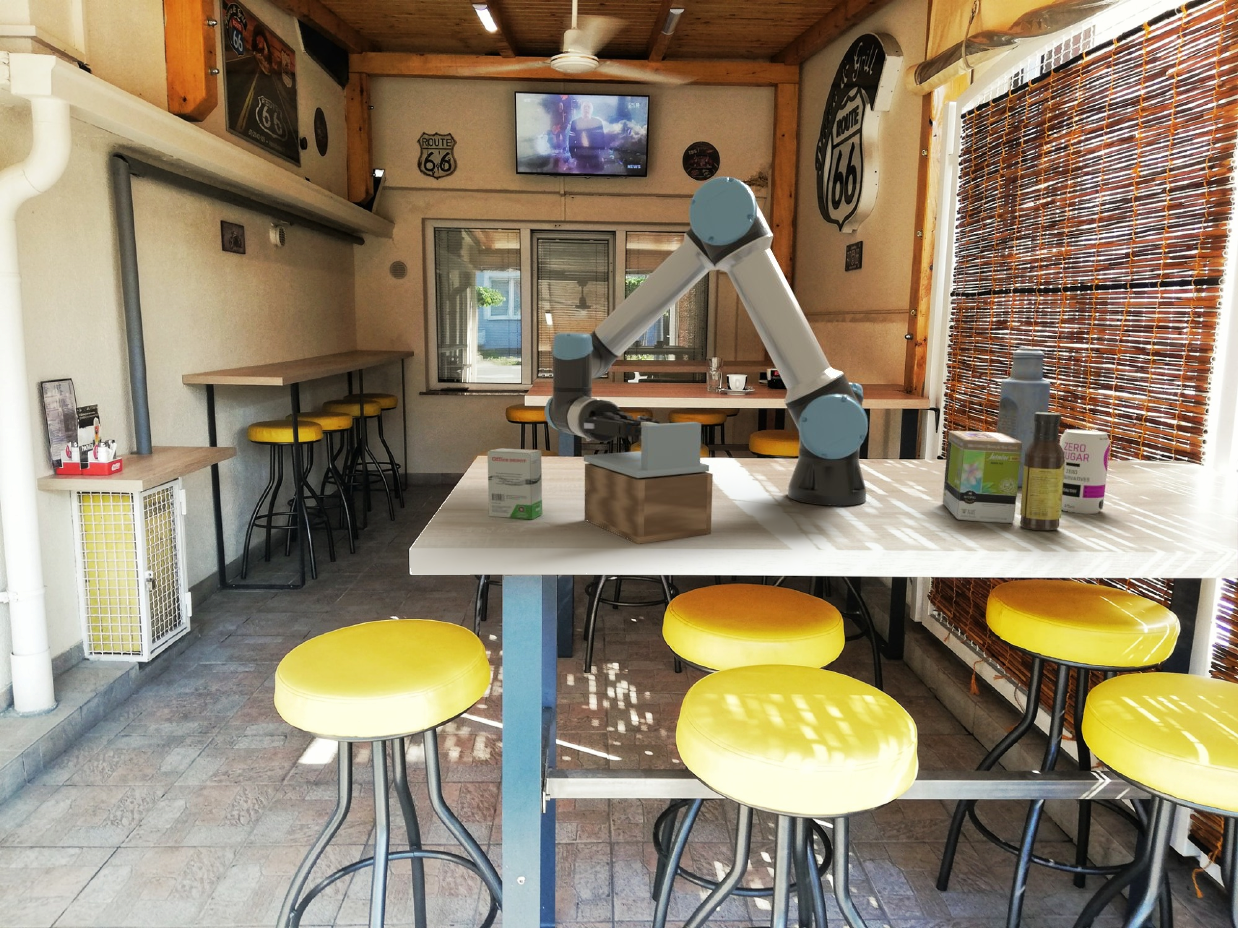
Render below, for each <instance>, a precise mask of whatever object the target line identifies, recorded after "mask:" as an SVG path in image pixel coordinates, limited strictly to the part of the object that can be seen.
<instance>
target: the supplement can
mask: <svg viewBox="0 0 1238 928" xmlns="http://www.w3.org/2000/svg"><path fill="white" fill-rule="evenodd" d="M1059 439H1060V440H1059V444H1060V446H1061V448H1062V449H1063V451H1064V456H1065V458H1064V459H1065V466H1064V480H1063V492H1062V506H1061V511H1062V510H1063V512H1066V511H1068V512H1067V513H1072V512H1075V513H1074V514H1083V515H1088V514H1089V515H1093V514H1098V513H1100V511H1102V510H1103V509H1104V502H1105V495H1106V494H1105V493H1106V485H1107V475H1108V466H1109V464H1108V463H1109V456H1110V448H1111V440H1110V438H1109V437H1108V432H1106V431H1101V430H1093V429H1090V430H1089V429H1065V430H1064V432H1063V434H1062V435H1061V436H1060V437H1059Z"/></svg>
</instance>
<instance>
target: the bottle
mask: <svg viewBox="0 0 1238 928" xmlns="http://www.w3.org/2000/svg"><path fill="white" fill-rule="evenodd" d="M1012 358H1013V360H1012V366H1011V369H1010V373H1009V374H1010V376H1009V377H1008V378H1004V379H1002V380H1001V383H1000V384H1001V385H1000V393H999V394H1000V395H999V403H998V414H997V424H996V426H997V427H996V433H1002V434H1004V435H1006V436H1009V437H1011V438H1013V439H1016V440H1018V441H1020V442H1022V450H1021V460H1020V469H1019V478H1018V488H1019V487H1021V488H1022V482H1023V468H1024V464H1025V452H1026V450H1027V448H1028V447H1029V445H1030V444H1031V443H1032V442H1033V440H1034V436H1033V435H1034V431H1035V421H1034V416H1035V413H1036V412H1044V413H1049V402H1050V394H1051V382H1050V381H1048V380H1045V379H1043V377H1044V370H1043V367H1044V366H1043V363H1044V362H1043V361H1044V358H1045V353H1044V352H1043V351H1041V348H1039V347H1029V346H1028V347H1018V349H1017V350H1015V351H1014V352H1013V355H1012Z"/></svg>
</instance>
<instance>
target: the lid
mask: <svg viewBox="0 0 1238 928" xmlns="http://www.w3.org/2000/svg"><path fill="white" fill-rule="evenodd" d="M701 438H702V423H701V422H698V421H697V422H696V421H687V422H686V421H685V422H670V423H669V422H667V423H659V424H647V425H642V433H641V436H640V439H641V441H640V442H641V444H640V445H641V448H640V449H641V450H640V451H637V450H636V451H627V452H626V451H625V452H613V453H600V454H588V455H587V454H586V455H583V462H585V463H591V464H594V465H597V466H601V467H604V468H607V469H610V470H613V471H617V472H620V473H623V474H626V475H629V476H633V477H636V478H644V477H654V476H665V475H675V474H686V473H697V472H709V471H710V465H708V464H705V463H701V445H702V444H701V441H702V439H701Z"/></svg>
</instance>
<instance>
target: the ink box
mask: <svg viewBox="0 0 1238 928" xmlns="http://www.w3.org/2000/svg"><path fill="white" fill-rule="evenodd" d="M486 452H487V454H486V455H487V477H488V478H487V485H488V486H487V487H488V488H487V490H488V494H487V495H488V516H489V517H495V518H496V517H497V518H508V519H509V518H510V519H521V520H534V519H535V518H537V517H539V516H542V514H543V494H542V493H543V486H542V485H543V481H542V480H543V479H542V478H543V477H542V476H543V475H542V473H543V471H542V469H543V468H542V451H541V450H540V449H539V450H537V449H524V448H522V449H518V448H517V449H516V448H502V447H501V448H496V449H490V450H489V451H486Z"/></svg>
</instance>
